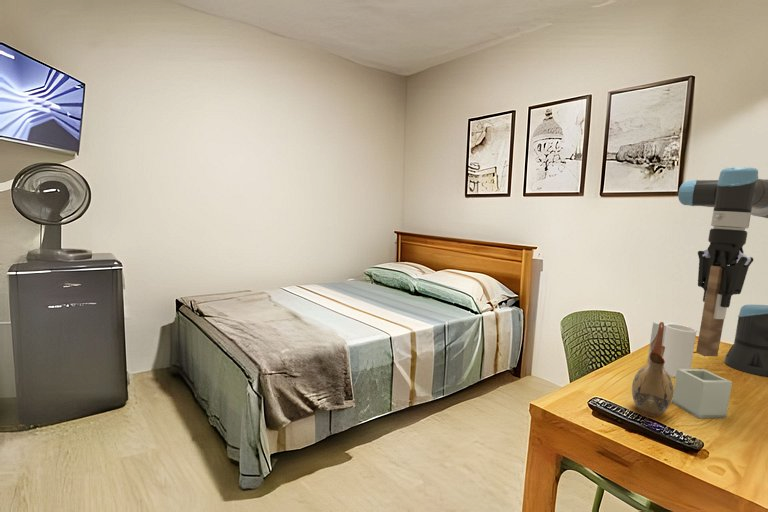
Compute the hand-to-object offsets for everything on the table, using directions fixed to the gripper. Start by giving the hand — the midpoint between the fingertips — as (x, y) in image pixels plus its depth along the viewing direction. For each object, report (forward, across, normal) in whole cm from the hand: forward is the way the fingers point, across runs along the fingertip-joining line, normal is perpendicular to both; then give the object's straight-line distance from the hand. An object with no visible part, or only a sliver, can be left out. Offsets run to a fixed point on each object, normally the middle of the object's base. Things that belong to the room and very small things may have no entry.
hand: (713, 316), depth 109 cm
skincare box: (+27, -32, +18) cm, 46 cm away
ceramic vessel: (+27, +1, -16) cm, 31 cm away
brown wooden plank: (+11, 0, 0) cm, 11 cm away
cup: (+27, -24, +16) cm, 39 cm away
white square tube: (+26, 0, 0) cm, 26 cm away
